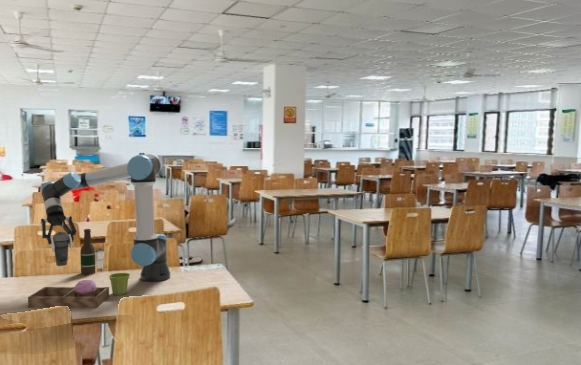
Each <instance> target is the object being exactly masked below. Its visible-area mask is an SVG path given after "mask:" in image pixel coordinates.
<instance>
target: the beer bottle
mask: <svg viewBox="0 0 581 365" xmlns="http://www.w3.org/2000/svg"><path fill="white" fill-rule="evenodd" d="M91 230H92V229H90V228H86V229H85V228H84V229H83V233H84V234H83V244H82V246H81V247H80V252H79V253H80V273H81V274H80V275H82V274H84V275H83V276H89V274H91V275H93V273H94V274H96V248H95V247H94V245H93V244H92V236H91V233H92V231H91Z"/></svg>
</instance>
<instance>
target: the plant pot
mask: <svg viewBox="0 0 581 365" xmlns="http://www.w3.org/2000/svg"><path fill="white" fill-rule="evenodd" d="M130 277H131V274H130V273H128V272H116V273H111V274H109V275H108V278H109V280H110V285H111V290H112V294H113V295H116V296H121V295H124V294H127V292H128V291H127V290H128V285H129V284H128V283H129V278H130Z"/></svg>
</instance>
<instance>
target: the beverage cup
mask: <svg viewBox="0 0 581 365" xmlns="http://www.w3.org/2000/svg"><path fill="white" fill-rule="evenodd" d="M63 230H64V229H63V222H62V227H61V231H57V232H56V233H55V234H54V235H52V237H53V241H54V246H55V249H54V251H53V252H54V259H55V263H56V266H57V267H63V266H67V265H68V258H69V257H68V255H69V245H70V244H69V237H68V234H67V233H66V231H63Z"/></svg>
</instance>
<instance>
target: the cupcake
mask: <svg viewBox="0 0 581 365" xmlns="http://www.w3.org/2000/svg"><path fill="white" fill-rule="evenodd" d="M74 287H75V292H77V296H78V297H94V295H95V291H96V289H97V287H98V286H97V284H96V282H95V281H94V280H92V279H84V280H79V281H78V282H77V283H76V284H75V286H74Z"/></svg>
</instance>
